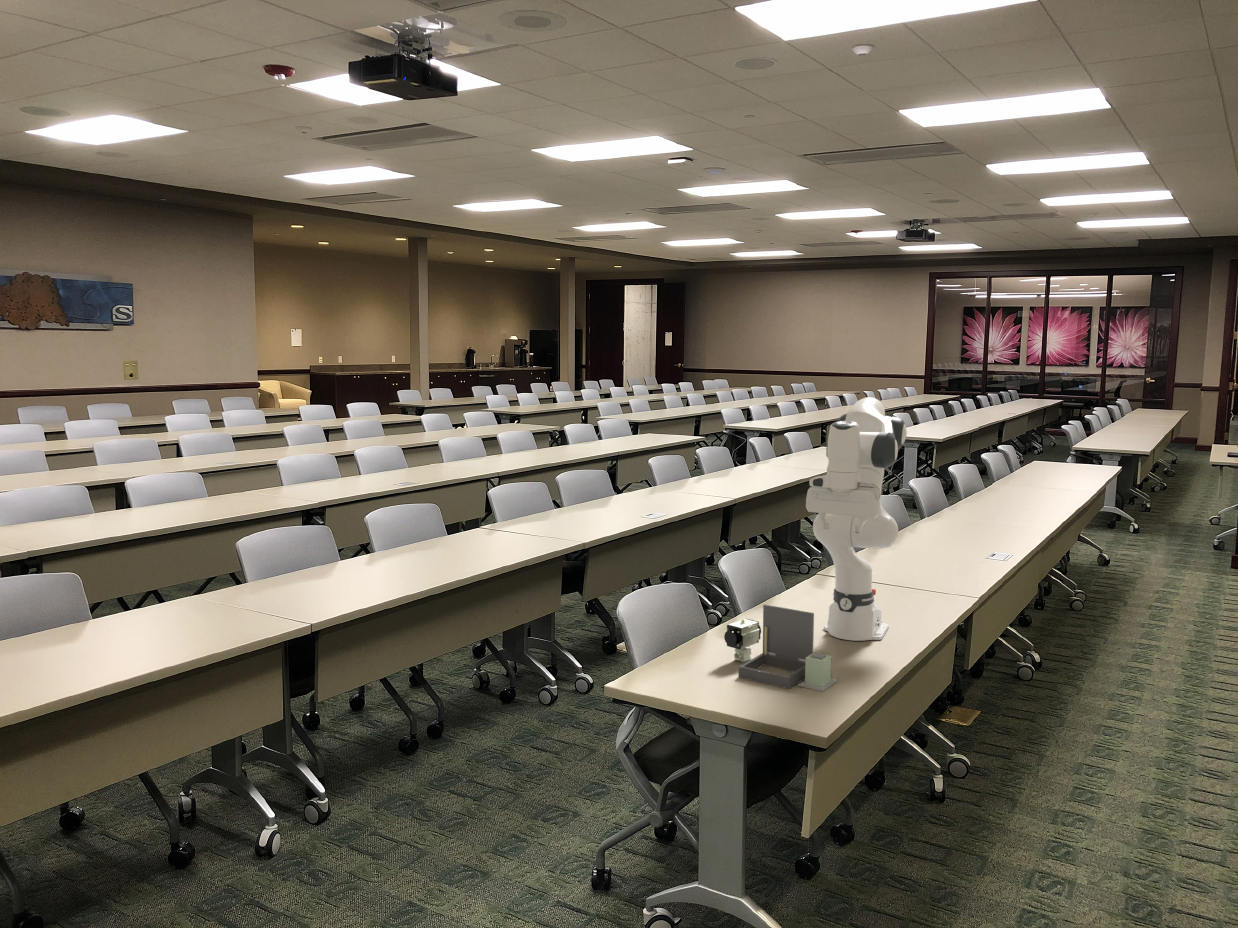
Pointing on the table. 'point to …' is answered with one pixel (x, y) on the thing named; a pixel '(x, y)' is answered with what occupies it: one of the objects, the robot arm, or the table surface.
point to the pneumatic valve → (742, 637)
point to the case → (782, 647)
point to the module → (818, 669)
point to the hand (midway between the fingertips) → (841, 531)
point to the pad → (817, 686)
